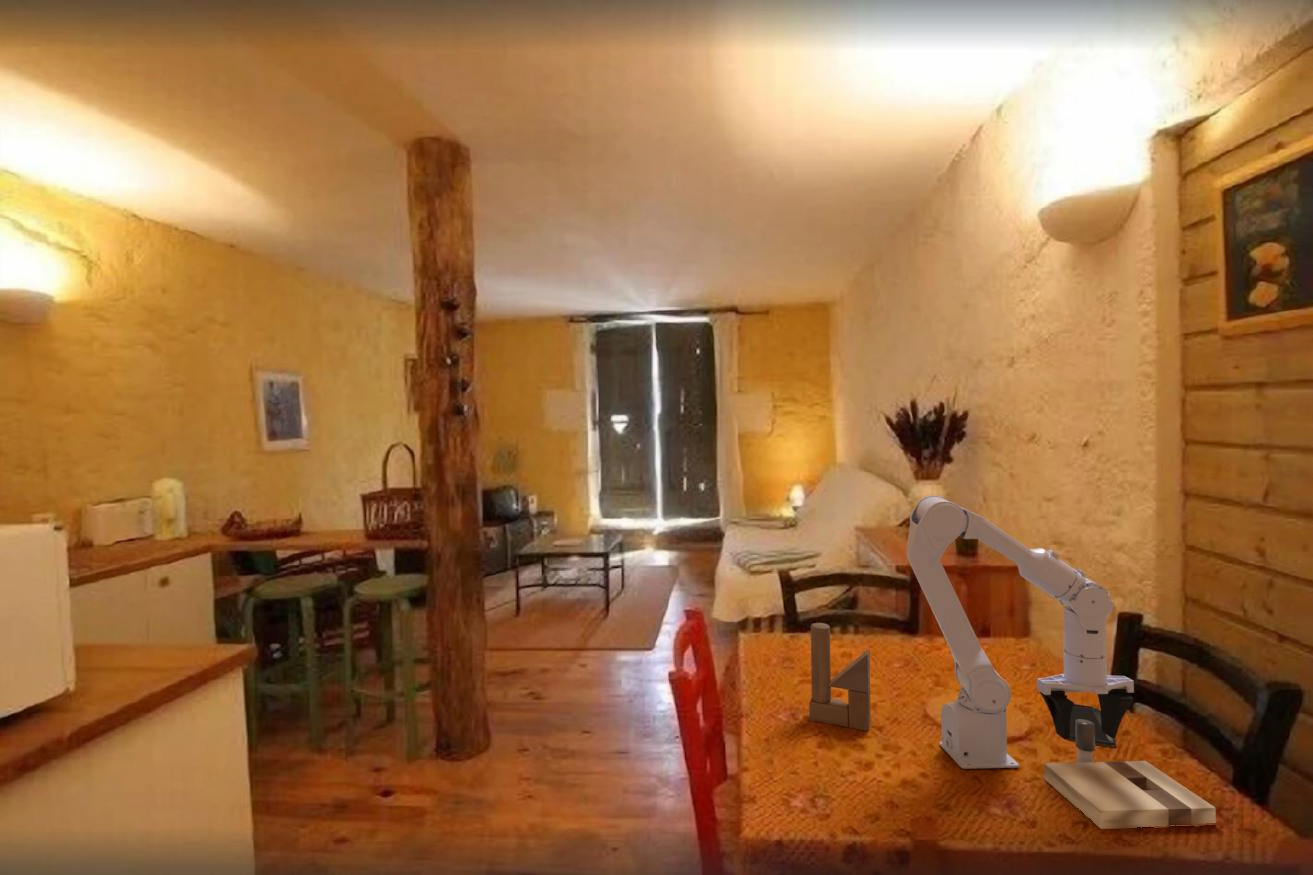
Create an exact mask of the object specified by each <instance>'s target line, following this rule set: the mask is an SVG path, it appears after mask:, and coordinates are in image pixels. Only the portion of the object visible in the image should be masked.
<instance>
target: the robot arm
mask: <svg viewBox="0 0 1313 875" xmlns="http://www.w3.org/2000/svg"><path fill="white" fill-rule="evenodd" d="M908 530H909V531H908V537H907V545H906V550H905V554H906V558H907V560H908V563H909V565H910V566H911V569H912V571H913V573H914V575H915V578H916V579H917V582H918V583H919V586H920V588H921V590H922V592H923V594H924V597H925V599H926V601H927V603H928V605H929V607H930V609H931V611H932V613H933V616H934V618H935V620H936V622H937V623H938V626H939V628H940V630H941V633H942V635H943V636H944V638H945V641H946V643H947V645H948V647H949V649H950V653H951V656H952V658H953V661H954V676H955V678H956V680H957V682H958V683H959V684H960V686H961V688H960V691H959V692H958V694H957V699H956V700H954V701H952V702H948V703H944V704H943V705H942V707H941V711H940V712H941V715H940V717H941V720H940V722H941V741H939V745H940V747H941V748H942V749H943V750H944V751H945V752H946V753H947V754H948V755H949V756H950V758H951V759H952V760H953V761H954V762H955V763H956V764H957V765H958V766H959V767H960V768H961V769H967V770H968V769H969V770H971V769H1003V768H1005V769H1007V768H1016V769H1017V768H1019V767H1020V764H1019V763H1018V762H1017V761H1016V760H1015V759H1014V758H1012V756H1010V754H1008V745H1007V744H1008V741H1007V740H1008V737H1007V730H1008V729H1007V727H1008V725H1007V722H1008V721H1007V707H1008V705H1009V704H1010V702H1011V699H1012V690H1011V688H1010V685H1009V683H1008V682H1007V681H1006V680H1005V679H1004V678H1002V676H1000V674H999V673H998V672H997V671H996V670H995V668H994V666H993V664H992V663H991V661H990V659H989V657H988V655H987V654H986V652H985V651H984V649H983V648H982V645H981V644H980V641H979V639H978V637H977V635H976V633H975V630H974V628H973V627H972V625H971V622H970V620H969V618H968V616H967V614H966V612H965V610H964V608H963V606H962V603H961V602H960V599H959V597H958V595H957V593H956V591H955V589H954V587H953V585H952V582H951V581H950V579H949V576H948V574H947V573H946V570H945V568H944V566H943V564H942V562H941V559H942V557H943V556H944V554H945V552H946V550H947V548H948V546H950V544H952V543H953V542H954V541H955V540H956V539H958V537H961V538H962V539H964V540H979V541H981V542H982V543H983V544H985V545H986V546H988V547H989V548H992V549H993V550H995V551H996V552H998V553H999V554H1001V555H1002V556H1004V557H1006V558H1008V559H1009V560H1011V561H1013V562H1014V563H1015V564H1016V566H1017V568H1018V569H1017V570H1018V573H1019V575H1020V577H1022V578H1023V579H1025V580H1026V581H1027V582H1030V584H1032V585H1033V586H1035V587H1036V588H1038V589H1040V590H1041V591H1042V592H1044V593H1045V594H1047V595H1049V596H1050V597H1052V598H1053V599H1055V600H1058V603H1060V604H1061V606H1062V605H1063V622H1062V624H1063V628H1062V629H1063V673H1059V674H1055V675H1051V676H1047V677H1046V676H1045V677H1041V678H1040V677H1039V678H1036V686H1037V688H1036V690H1037V691H1039V694H1040V695H1041V697H1042V698H1043V700H1044V702H1045V704H1046V706H1047V708H1048V711H1049V713H1050V715H1051V719H1052V721H1053V724H1054V725H1053V726H1054V728H1055V733H1056V735H1057V736H1059V737H1060V738H1062V739H1063V740H1068V739H1069V735H1070V716H1071V711H1072V708H1073V705H1074V704H1075V702H1074V701H1072V700H1070V699H1069V698H1068V695H1066V693H1094V694H1097V698H1098V702H1099V710H1100V711H1101V727H1102V732H1103V733H1105V734H1106V735H1108V736H1109V737H1111V738H1115V739H1116V737H1117V734H1118V731H1119V728H1120V724H1121V722H1122V720H1123V718H1124V716H1125V714H1126V713H1127V711H1128V710H1129V709H1130V708H1131V706H1132V705H1134V697H1133V696H1132V695H1130V694H1128V693H1135V689H1134V688H1135V685H1134V684H1135V683H1134V680H1133V679H1131V678H1129V677H1127V676H1125V675H1110V674H1109V675H1108V674H1107V672H1108V670H1107V668H1108V667H1107V665H1108V664H1107V617H1108V616H1110V615H1111V613H1112V612H1113V610H1114V606H1115V602H1114V601H1113V600H1112V598H1111V595H1110V594H1109V591H1108V590H1107V589H1106V588H1105V587H1104V586H1102V585H1100V584H1099V583H1096V582H1095V581H1093V580H1091V579H1089V578H1087V577H1086V575H1087V573H1086V572H1085V571H1084V570H1081V569H1079V568H1077V569H1075V568H1073V567H1072V566H1070V565H1069V564H1067V563H1065V562H1064V561H1063V560H1061V559H1060V556H1061V555H1060V554H1059V553H1057V552H1056V551H1054V550H1052V549H1048V550H1046V549H1044V548H1042V547H1041V548H1037V547H1036V548H1028V547H1027V546H1025V545H1024V544H1022V543H1021V542H1019V541H1018V540H1017V539H1015V538H1014V537H1012V536H1011V535H1009V534H1008V533H1007V532H1006V531H1004V530H1002V529H1001V528H1000V527H998V526H997V525H995V524H994V523H992V522H991V521H989V520H987V518H985V517H984V516H982V515H979V514H977V513H975V512H972V511H970V510H968V509H966V508H964V507H962V506H959V505H958V504H956V502H953V501H949V500H947V499H945V497H941V496H939V495H935V494H934V495H928V496H924V497H923V498H921V499H920V500H919V501H918V502H917V503H916V505H915V507H914V509H913V510H912V511H911V513H910V515H909V529H908Z"/></svg>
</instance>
